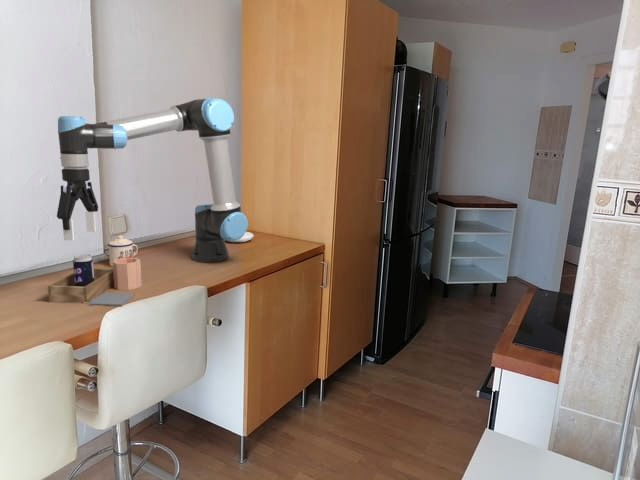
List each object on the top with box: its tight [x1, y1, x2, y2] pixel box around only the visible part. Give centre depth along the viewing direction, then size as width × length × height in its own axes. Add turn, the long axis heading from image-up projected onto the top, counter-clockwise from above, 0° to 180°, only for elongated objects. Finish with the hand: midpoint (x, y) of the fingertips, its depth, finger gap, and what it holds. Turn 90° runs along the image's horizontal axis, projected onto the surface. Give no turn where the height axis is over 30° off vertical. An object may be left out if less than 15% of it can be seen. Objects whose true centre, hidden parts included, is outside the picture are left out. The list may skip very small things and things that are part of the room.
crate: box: [47, 267, 114, 303], centre depth 151 cm, size 12×21×5 cm, turn 179°
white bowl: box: [225, 231, 254, 243], centre depth 232 cm, size 16×16×7 cm
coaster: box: [87, 292, 136, 307], centre depth 144 cm, size 10×10×1 cm
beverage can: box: [72, 253, 94, 287], centre depth 150 cm, size 6×6×12 cm
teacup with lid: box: [107, 235, 139, 268], centre depth 184 cm, size 12×9×12 cm
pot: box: [112, 257, 142, 291], centre depth 157 cm, size 8×8×9 cm
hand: (80, 235), depth 148 cm, fingers open, 13 cm apart
